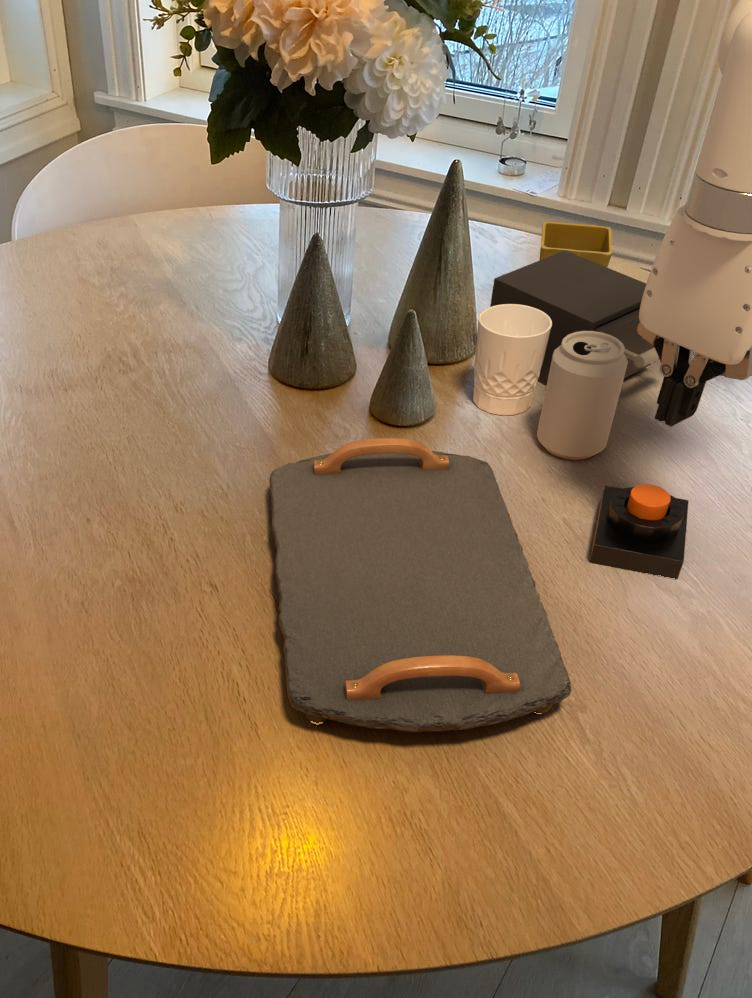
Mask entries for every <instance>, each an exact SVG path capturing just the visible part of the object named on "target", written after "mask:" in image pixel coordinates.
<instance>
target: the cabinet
mask: <svg viewBox="0 0 752 998" xmlns="http://www.w3.org/2000/svg"><path fill="white" fill-rule="evenodd" d="M646 283H647V282H644V281H641V280H639V279H637V278H634V277H632V276H630V275H626V274H624V273H622V272H619V271H617V270H614V269H612V268H609V267H605V266H602V265H600V264H597V263H595V262H592V261H590V260H587V259H585V258H582V257H580V256H577V255H575V254H573V253H570V252H568V251H562V252H560V253H557V254H555V255H552V256H550V257H547V258H545V259H542V260H540V261H539V260H537V261H534V262H532V263H529V264H527V265H524V266H522V267H519V268H517V269H515V270H512V271H509V272H506V273H504V274H502V275H500V276H497V277H494V279H493V286H492V292H491V299H490V306H489V307H492V306H496V305H502V304H519V305H525V306H530V307H533V308H536V309H539V310H541V311H543V312H544V313H546V314H547V315H548V316H549V317H550V318H551V320H552V327H551V331H550V335H549V339H548V343H547V347H546V352H545V356H544V360H543V364H542V367H541V370H540V375H539V379H538V382H539V383H541V384H542V385H544V386H547V381H548V376H549V371H550V366H551V361H552V356H553V353H554V350H555V349H557V348H558V347H559V346H560V345H562V344H561V343H562V340H563V338H565V337H566V336H567V335H569V334H571V333H574V332H579V331H595V329H596V327H598V326H600V325H602V324H604V323H607V322H609V321H611V320H613V319H615V318H618V317H620V316H622V315H624V314H626V313H628V312H631V311H633V310H635V309H637V308H639V307H640V305H641V301H642V297H643V293H644V290H645V287H646Z"/></svg>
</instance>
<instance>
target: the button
mask: <svg viewBox="0 0 752 998" xmlns="http://www.w3.org/2000/svg"><path fill="white" fill-rule="evenodd" d="M633 487H634V488H633V489H632V490H631V493H630V497H629V500H628V503H627V510H628V512H629V513H631V514H633V515H635V516H637V517H638V518H641V519H647V520H659V519H663V518H664V517H665V515H666V513H667V510H668V506H669V503H670V500H671V497H670V495H671V494H670V493H669V491H668V490H666V489H664V488H662V487H661V486H658V485H655V484H648V483H643V484H639V485H636V486H633Z"/></svg>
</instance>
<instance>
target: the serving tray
mask: <svg viewBox="0 0 752 998" xmlns="http://www.w3.org/2000/svg"><path fill="white" fill-rule="evenodd" d="M268 481H269V492H270V494H269V495H270V509H271V525H270V528H271V532H272V535H273V539H274V544H275V548H276V552H275V560H274V576H275V577H274V579H275V581H276V583H277V595H278V598H279V604H278V609H277V610H278V613H279V615H278V617H277V624H278V627H279V629H280V631H281V634H282V638H283V640H284V643H283V645H282V649H283V653H284V670H285V681H286V682H285V683H286V693H287V698H288V701H289V703H290V706H291V707H292V708H293V709H294V710H296V711H299V712H301V713H303V714H304V716H305V718H306V719H307V721H308V720H310V721H313V722H316V723H319V722H324V721H325V722H327V721H328V720H331V721H333V722H334V721H335V722H339V723H343V724H346V725H350V726H359V727H364V728H368V729H379V730H380V729H381V730H392V731H393V730H394V731H399V732H405V733H419V732H420V733H421V732H445V731H463V730H471V729H475V728H479V727H488V726H492V725H497V724H499V723H505V722H508V721H510V720H514V719H517V718H518V719H519V718H522V717H525V716H527V715H529V714H533V713H532V712H536V713H544V714H545V713H547V712H549V710H551V709H552V707H553V705H557V704H558V703H560V702H562V701H564V700H565V699H567V698H569V697H570V696H571V694H572V685H571V679H570V675H569V673H568V670H567V668H566V665H565V662H564V661H563V658H562V653H561V650H560V647H559V643H558V642H557V640H556V637H555V634H554V632H553V629H552V626H551V623H550V621H549V618H548V613H547V611H546V609H545V607H544V605H543V602H542V601H541V598H540V594H539V592H538V590H537V584H536V580H535V579H534V577H533V576H532V575H533V574H532V572H531V570H530V568H529V562H528V559H527V558H526V556H525V554H524V549H523V547H522V545H521V542H520V540H519V538H518V533H517V531H516V529H515V527H514V524H513V521H512V518H511V515H510V513H509V511H508V507H507V505H506V501H505V500H504V497H503V495H502V492H501V489H500V486H499V483H498V482H497V481H498V480H497V479H496V476H495V473H494V470H493V468H492V466H491V465H490V464H489V463H488V462H487V461H485V460H481V459H478V458H477V457H473V456H470V455H462V454H457V453H448V452H443V451H436V450H431V449H430V448H429V447H428V446H427V445H426V444H424V443H422V442H421V441H418V440H416V439H412V438H411V439H409V438H403V437H377V438H366V439H365V438H364V439H360V440H355V441H354V440H353V441H350V442H348V443H345V444H343V445H341V446H339V447H338V448H337V449H335V450H334V451H333V452H331V453H326V454H322V455H317V456H316V455H315V456H311V457H309V458H305V459H300V460H298V461H295V462H288V463H285V464H283V465H282V466H278V468H275V469H274V470H272V471H271V472H270V475H269V480H268ZM327 719H328V720H327Z"/></svg>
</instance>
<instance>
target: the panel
mask: <svg viewBox="0 0 752 998" xmlns="http://www.w3.org/2000/svg"><path fill="white" fill-rule="evenodd" d="M634 487H635V486H629V487H623V488H622V487H617V486H610V485H604V488H603V491H602V495H601V499H600V502H599V508H598V514H597V517H596V518H597V519H596V524H595V529H594V535H593V541H592V546H591V551H590V557H589V563H590V564H595V565H599V566H605V567H609V566H610V568H615V569H620V570H626V571H630V570H631V571H630V572H635V573H640V572H641V574H645V573H648V574H647V575H650V574H653V575H652V576H655V575H661V576H664V577H663V578H665V577H670V578H675V579H674V580H676V579H677V580H678V579H679V576H680V573H681V571H682V569H683V568H682V567H683V565H684V562H685V549H686V539H687V526H688V512H689V499H684V498H679V497H675V496H674V495H672V494H670V497H671V500H670V503H669V506H668V510H667V513H666V515H665V517H664V518H663V519H659V520H647V519H641V518H638V517H637V516H635V515H633V514H631V513H629V512H628V510H627V503H628V500H629V497H630V493H631V490H632V489H633V488H634ZM636 571H637V572H636ZM649 573H650V574H649ZM670 578H669V579H670Z"/></svg>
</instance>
